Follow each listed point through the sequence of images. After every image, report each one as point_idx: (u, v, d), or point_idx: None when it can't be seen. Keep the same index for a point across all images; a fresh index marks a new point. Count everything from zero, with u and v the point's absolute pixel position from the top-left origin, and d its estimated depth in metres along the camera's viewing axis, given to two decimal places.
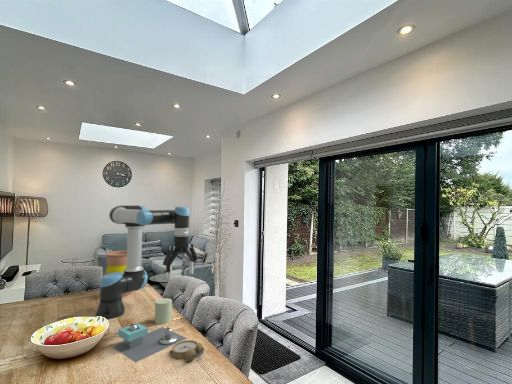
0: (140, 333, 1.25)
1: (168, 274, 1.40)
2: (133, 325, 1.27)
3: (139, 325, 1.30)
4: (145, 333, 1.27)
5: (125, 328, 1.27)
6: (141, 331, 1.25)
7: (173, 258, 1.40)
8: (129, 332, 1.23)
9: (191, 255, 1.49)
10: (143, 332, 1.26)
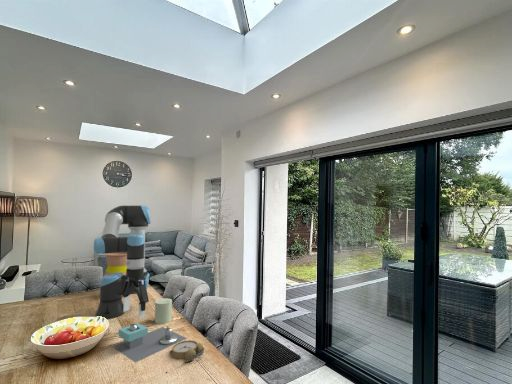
0: (140, 333, 1.25)
1: None
2: (133, 325, 1.27)
3: (139, 325, 1.30)
4: (145, 333, 1.27)
5: (125, 328, 1.27)
6: (141, 331, 1.25)
7: (125, 290, 1.30)
8: (129, 332, 1.23)
9: (138, 294, 1.23)
10: (143, 332, 1.26)
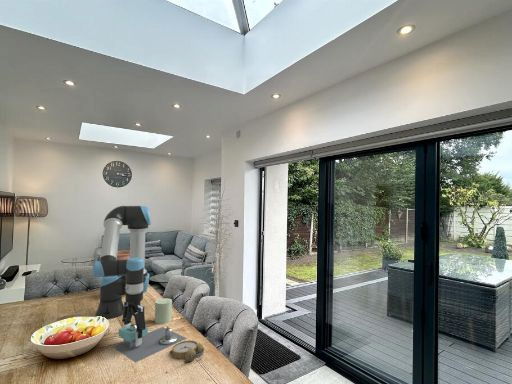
0: None
1: None
2: (133, 325, 1.27)
3: None
4: (145, 333, 1.27)
5: (125, 328, 1.27)
6: None
7: (126, 316, 1.29)
8: (129, 332, 1.23)
9: (136, 321, 1.23)
10: (143, 332, 1.26)
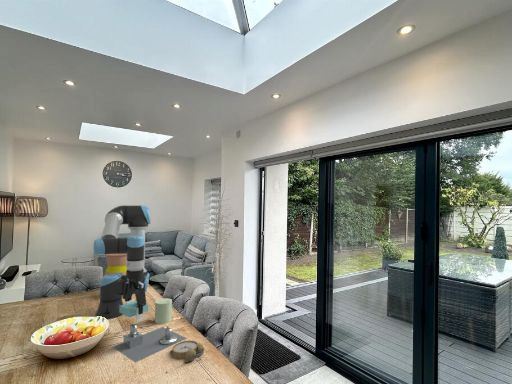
0: None
1: None
2: (133, 325, 1.27)
3: None
4: (146, 310, 1.28)
5: (126, 305, 1.28)
6: None
7: (127, 293, 1.30)
8: (130, 308, 1.24)
9: (137, 297, 1.24)
10: (143, 308, 1.27)
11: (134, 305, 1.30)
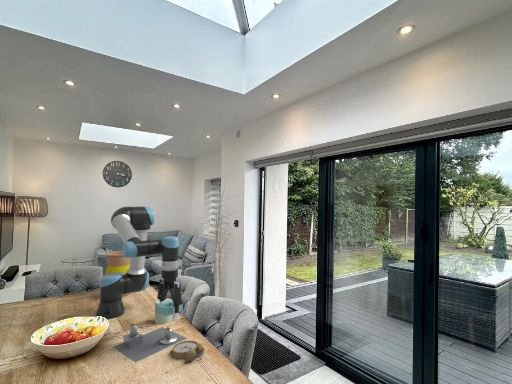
0: None
1: None
2: (133, 325, 1.27)
3: None
4: (181, 309, 1.30)
5: (161, 304, 1.31)
6: None
7: (161, 293, 1.33)
8: (166, 307, 1.27)
9: (173, 297, 1.27)
10: None
11: (168, 305, 1.33)
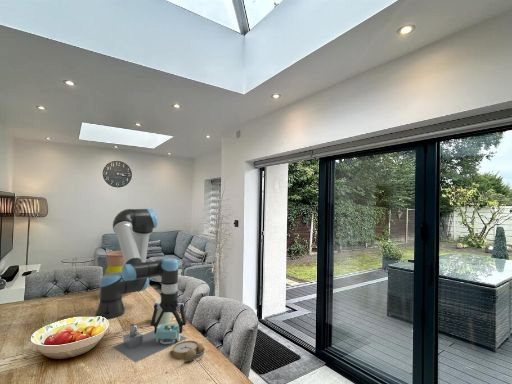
0: None
1: None
2: (133, 325, 1.27)
3: (168, 324, 1.34)
4: None
5: (160, 329, 1.28)
6: None
7: (158, 318, 1.29)
8: (171, 330, 1.27)
9: (177, 318, 1.30)
10: None
11: (164, 328, 1.32)
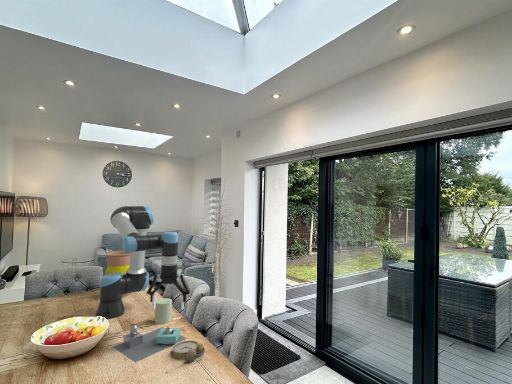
0: (178, 333, 1.31)
1: None
2: (133, 325, 1.27)
3: None
4: (179, 333, 1.34)
5: (160, 334, 1.28)
6: (178, 331, 1.32)
7: (156, 288, 1.31)
8: (171, 335, 1.27)
9: (180, 288, 1.31)
10: (179, 332, 1.33)
11: (164, 333, 1.31)
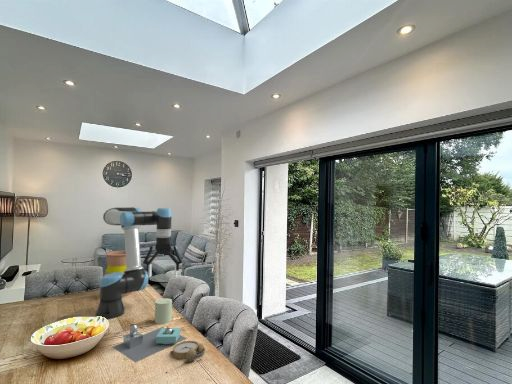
0: (178, 333, 1.31)
1: None
2: (133, 325, 1.27)
3: None
4: (179, 333, 1.34)
5: (160, 334, 1.28)
6: (178, 331, 1.32)
7: (152, 258, 1.46)
8: (171, 335, 1.27)
9: (173, 258, 1.46)
10: (179, 332, 1.33)
11: (164, 333, 1.31)
